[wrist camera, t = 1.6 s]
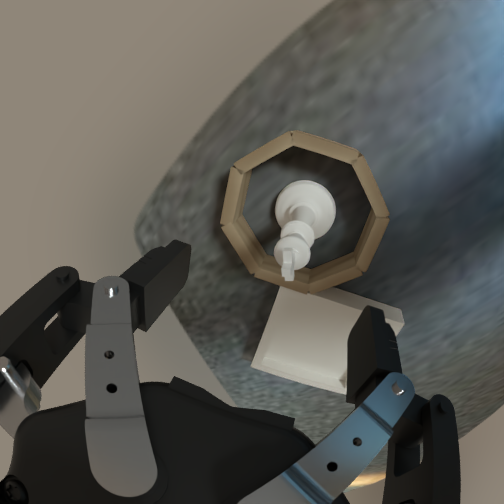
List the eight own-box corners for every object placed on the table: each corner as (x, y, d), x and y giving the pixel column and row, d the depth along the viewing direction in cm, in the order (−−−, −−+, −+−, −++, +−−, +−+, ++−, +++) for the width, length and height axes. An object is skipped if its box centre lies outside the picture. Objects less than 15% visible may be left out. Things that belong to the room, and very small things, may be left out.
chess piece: (278, 238, 23) (244, 310, 15) (272, 181, 21) (229, 225, 13) (336, 238, 22) (335, 315, 13) (334, 179, 20) (338, 223, 11)
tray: (400, 309, 23) (404, 324, 21) (348, 380, 29) (347, 394, 27) (285, 270, 25) (281, 283, 23) (255, 353, 30) (250, 366, 29)
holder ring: (399, 166, 18) (407, 171, 16) (346, 291, 24) (347, 307, 22) (251, 118, 19) (241, 118, 17) (223, 249, 25) (213, 262, 23)
